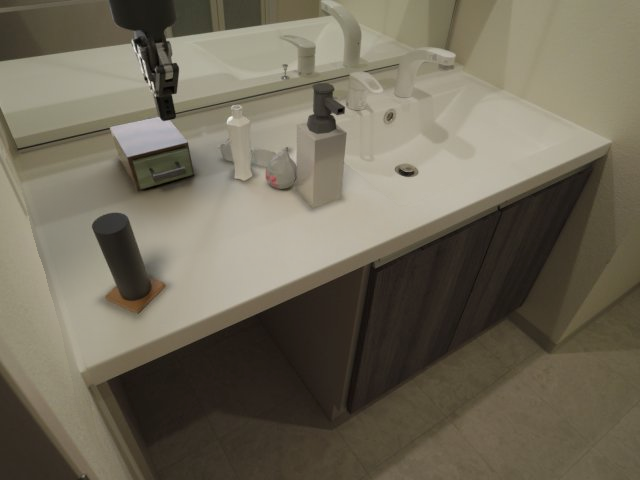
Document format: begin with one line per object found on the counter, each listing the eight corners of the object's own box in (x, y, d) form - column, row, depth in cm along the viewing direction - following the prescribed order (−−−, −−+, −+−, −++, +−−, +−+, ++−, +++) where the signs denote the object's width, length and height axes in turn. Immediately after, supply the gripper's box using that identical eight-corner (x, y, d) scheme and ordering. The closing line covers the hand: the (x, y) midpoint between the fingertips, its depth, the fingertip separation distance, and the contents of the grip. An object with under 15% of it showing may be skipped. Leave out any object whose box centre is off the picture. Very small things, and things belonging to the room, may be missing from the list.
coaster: (137, 314, 60) (136, 310, 59) (106, 299, 62) (104, 296, 61) (165, 286, 64) (164, 282, 64) (135, 273, 66) (133, 270, 65)
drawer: (200, 184, 83) (195, 159, 79) (147, 200, 78) (139, 174, 75) (172, 147, 93) (167, 123, 89) (124, 159, 89) (116, 135, 85)
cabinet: (194, 174, 87) (188, 142, 82) (137, 190, 82) (127, 157, 77) (172, 146, 95) (165, 115, 90) (120, 159, 90) (109, 127, 85)
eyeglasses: (218, 159, 92) (217, 142, 89) (232, 144, 98) (231, 128, 96) (279, 169, 90) (279, 152, 88) (289, 153, 96) (289, 137, 94)
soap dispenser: (318, 215, 79) (324, 103, 64) (296, 191, 84) (296, 82, 70) (347, 205, 81) (358, 95, 67) (323, 182, 87) (329, 76, 72)
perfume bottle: (258, 171, 89) (253, 104, 79) (248, 182, 86) (242, 113, 76) (238, 167, 90) (231, 100, 80) (228, 177, 87) (220, 109, 77)
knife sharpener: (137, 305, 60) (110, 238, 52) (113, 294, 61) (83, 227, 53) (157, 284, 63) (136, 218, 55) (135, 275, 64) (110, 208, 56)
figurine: (257, 186, 85) (255, 152, 79) (281, 173, 89) (281, 139, 84) (280, 200, 82) (279, 164, 76) (304, 185, 86) (305, 151, 80)
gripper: (91, -29, 51) (128, 106, 63) (118, -6, 43) (155, 144, 55) (152, -32, 55) (177, 96, 66) (188, -11, 46) (209, 131, 58)
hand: (167, 118), depth 60 cm, fingers closed
